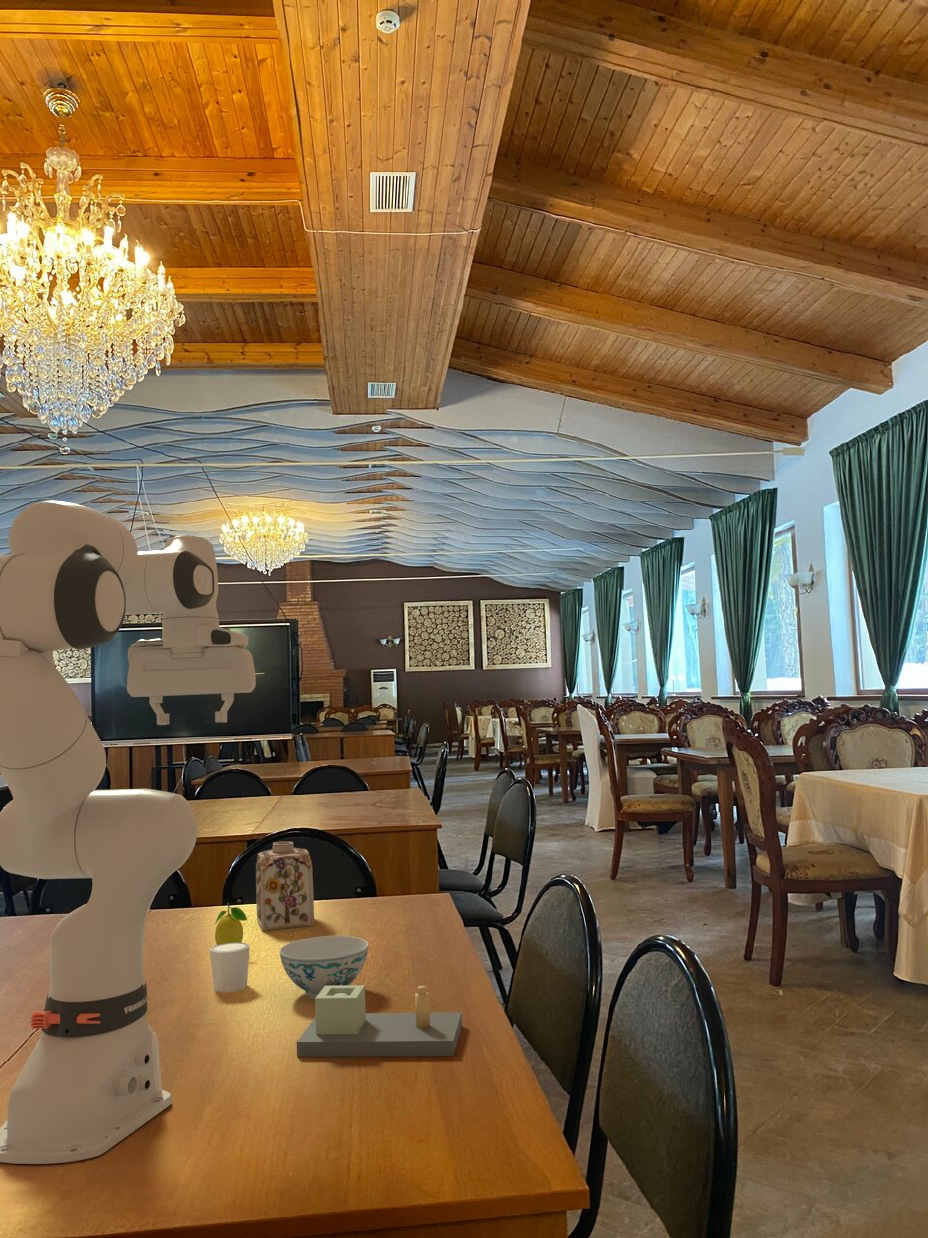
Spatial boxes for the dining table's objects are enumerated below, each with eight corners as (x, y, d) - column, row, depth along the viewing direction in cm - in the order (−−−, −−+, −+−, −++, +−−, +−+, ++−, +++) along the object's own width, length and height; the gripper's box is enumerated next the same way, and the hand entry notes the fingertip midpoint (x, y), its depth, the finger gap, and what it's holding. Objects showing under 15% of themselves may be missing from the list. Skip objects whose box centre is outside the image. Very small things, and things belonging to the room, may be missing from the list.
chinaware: (284, 1012, 153) (283, 963, 154) (277, 986, 168) (276, 941, 168) (377, 1000, 157) (375, 952, 158) (362, 976, 172) (360, 932, 172)
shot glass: (240, 994, 164) (239, 952, 165) (203, 993, 166) (202, 951, 166) (256, 982, 171) (256, 942, 172) (221, 981, 172) (220, 941, 173)
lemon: (247, 955, 190) (246, 903, 191) (217, 959, 188) (216, 907, 188) (242, 947, 196) (241, 897, 197) (213, 951, 194) (212, 901, 195)
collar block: (357, 1034, 136) (356, 998, 136) (316, 1034, 137) (315, 998, 137) (365, 1020, 142) (364, 985, 142) (326, 1020, 142) (325, 985, 143)
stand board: (453, 1056, 132) (451, 1000, 132) (297, 1057, 134) (295, 1001, 134) (462, 1026, 143) (460, 974, 144) (318, 1027, 145) (316, 976, 146)
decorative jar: (256, 921, 220) (254, 841, 222) (307, 915, 224) (305, 837, 225) (261, 932, 209) (259, 848, 210) (314, 926, 212) (312, 844, 214)
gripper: (119, 639, 152) (120, 726, 151) (247, 633, 151) (248, 721, 150) (135, 641, 158) (136, 725, 157) (257, 636, 157) (259, 720, 156)
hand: (192, 723), depth 154 cm, fingers open, 8 cm apart
